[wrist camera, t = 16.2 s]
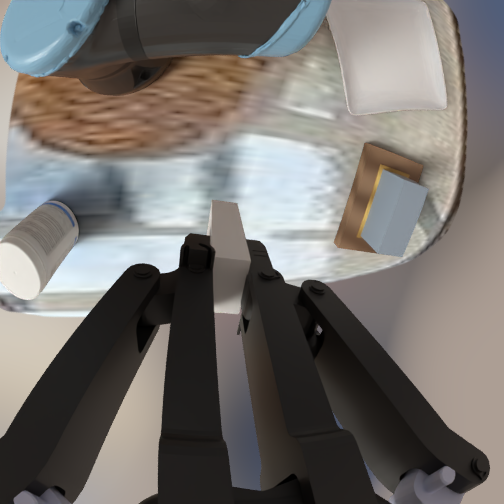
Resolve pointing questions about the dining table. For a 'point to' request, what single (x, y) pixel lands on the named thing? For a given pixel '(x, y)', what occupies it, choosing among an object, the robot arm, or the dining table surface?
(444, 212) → the dining table surface
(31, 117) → the dining table surface
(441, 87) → the salad plate
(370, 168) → the board
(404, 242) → the block
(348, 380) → the robot arm
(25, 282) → the supplement tub
